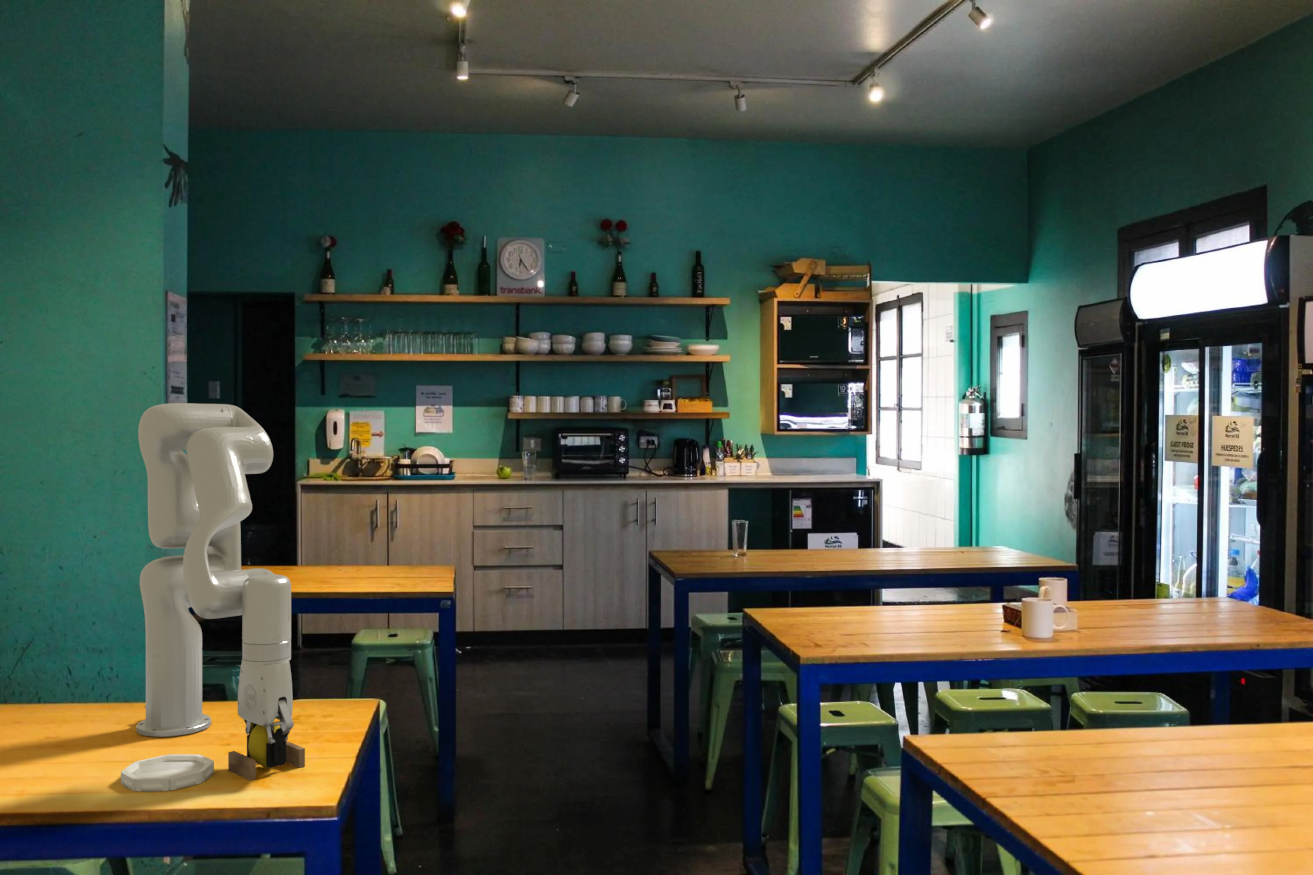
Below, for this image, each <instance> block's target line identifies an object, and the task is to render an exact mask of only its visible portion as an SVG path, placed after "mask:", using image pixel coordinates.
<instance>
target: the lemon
mask: <svg viewBox="0 0 1313 875" xmlns="http://www.w3.org/2000/svg"><path fill="white" fill-rule="evenodd" d="M274 722H275V721H274ZM274 722H273V723H274ZM273 728H274V733H275V732H276V730H277V729H278V728H280V725H279V726H275V727H273ZM266 743H269V739H268V733H267V727H263V726H260V725H257V726H255V728H254V729H253V730H252V732H251V734H250V737H249V743H248V749H249V754H250V757H251V758H252V759H254V760H256V765H260V766H261V767H262V768H263V769H269V768H268V767H266Z"/></svg>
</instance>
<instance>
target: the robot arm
mask: <svg viewBox="0 0 1313 875" xmlns="http://www.w3.org/2000/svg"><path fill="white" fill-rule="evenodd" d="M137 435H138V437H137V438H138V445H139V449H140V452H141V456H142V459H143V462H144V465H145V468H146V469H145V470H146V475H147V518H148V519H147V522H148V523H147V524H148V536H149V538H150V541H151V543H152V544H153V546H154V547H157V548H160V549H165V550H167V549H168V550H169V549H170V550H171V549H172V550H173V549H184V552H183V555H172V556H171V555H170V556H165V557H160V558H157V559H153V560H152V561H150V562H148V563H147V564H146V565H145V566H144V567H143V568H142V569H141V572H140V575H139V588H140V589H139V590H140V594H141V600H142V604H143V611H144V612H143V613H144V624H145V626H144V628H145V706H144V708H145V719H143V720H141V721H139V722H138V723H137V724H136V728H135V729H136V732H137V734H139V735H142V736H145V737H151V738H153V737H154V738H157V737H158V738H160V737H161V738H164V737H178V736H185V735H191V734H194V733H195V734H196V733H198V732H202V731H203V730H206V729H208V728H209V727H210V726H211V725H212V718H211V716H209V715H207V714H205V713H203V632H202V627H201V625H200V624H199V621H197V619H196V618H195V617H194V616H193V614H192V613H191V612H190V610H189V608H192V610H193V612H194V613H195V614H196V615H197V616H199V617H200V618H203V619H206V620H210V619H211V620H213V619H215V620H216V619H221V618H228V617H237V616H238V617H239V616H241V618H242V620H241V621H242V626H241V627H242V628H241V629H242V631H241V635H242V636H241V639H242V642H241V645H242V646H241V651H242V654H241V656H242V657H241V664H240V668H239V677H238V687H237V688H238V689H237V714H238V716H239V717H240V718H241V719H243V721H244V723H245V728H244V729H245V730H244V731H245V734H246V756H247V757H250V754H249V749H248V743H249V737H250V734H251V732H252V730H253V729H254V728H255V726H257V725H260V726H263V727H267V733H268V739H269V743H266V767H268V768H267V769H272V768H277V767H280V766H284V765H286V764H287V763H286V741H288V739H289V735H290V732H291V730H292V729H293V728H294V726H295V723H294V720H293V718H292V716H293V703H294V702H293V701H294V700H293V698H294V697H293V681H292V672H291V664H290V661H291V659H292V582H291V580H290V579H289V577H287V576H286V575H284V574H283V575H282V574H276V573H273V571H271V570H270V569H266V568H262V567H261V568H248V569H242V544H241V543H242V541H241V539H242V538H241V536H242V535H241V534H242V533H241V522H242V521H243V520H245V519H246V518H247V517H249V516H250V514H251V513H252V511H253V503H252V500H251V494H250V490H249V487H248V482H247V478H246V475H252V474H253V475H256V474H263V473H265V472H267V471H268V470H269V469H270V467H271V466H272V463H273V460H274V449H273V444H272V442H271V439H270V436H269V435H268V433H267V432H266V431H265V429H264V428H263V427H262V425H260V424H259V423H258V422H257V421H256V420H255V419H254V418H253V417H251V416H250V415H249V414H248V413H247V412H246V411H244V410H243V409H242V408H240V407H238V406H236V405H233V404H227V403H195V402H194V403H193V402H192V403H191V402H190V403H188V402H186V403H185V402H183V403H182V402H175V403H174V402H173V403H171V402H170V403H161V404H157V405H153V406H150V407H149V408H148V409H147V408H146V410H145V411H144V412H143V413H142V415H141V417H140V420H139V424H138V430H137ZM184 451H186V453H185V452H184ZM275 719H276V720H278V721H275ZM273 722H274V723H273ZM275 726H279V727H280V728H278V729H277V730H276V732H275V733H274V728H273V727H275ZM250 758H251V757H250Z"/></svg>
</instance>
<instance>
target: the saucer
mask: <svg viewBox="0 0 1313 875" xmlns="http://www.w3.org/2000/svg"><path fill="white" fill-rule="evenodd" d="M214 768H215V760H213V759H211V758H209V757H206V756H205V755H202V754H198V753H197V754H196V753H195V754H194V753H193V754H189V753H187V754H184V753H183V754H182V753H181V754H179V753H177V754H176V753H175V754H163V755H159V756H153V757H149V758H146V759H141V760H136V761H133V762H132V763H131V764H129V765H128V766H127V767H125V768H124V769H122V770H121V772H120V784H121V785H123V788H126V789H128V790H130V791H133V792H144V793H145V792H150V793H151V792H169V791H174V790H179V789H181V790H182V789H185V788H190V787H193V786H196V785H200V784H202V783H205V782H206V781H207V780H209V779H210V778H211V777H212V776H213V774H214V773H215V769H214Z"/></svg>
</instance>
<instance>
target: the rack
mask: <svg viewBox="0 0 1313 875" xmlns="http://www.w3.org/2000/svg"><path fill="white" fill-rule="evenodd" d="M227 754H228V756H227V757H228V758H227V759H228V772H230V773H232V774H235V775H237V776H239V777H241V778H243V779H246V780H247V781H253V780H256V778H257V777H256V775H257V774H256V770H257V769H256V768H257V767H256V765H257V763H256V760H254V759H252V758H250V757H247V755H244V754H242V753H240V752H237V751H236V750H232V751H228V753H227ZM286 764H289V765H292V766H293V767H297V768H304V766H305V767H306V748H305V747H302V746H300V745H298V744H294V743H292V742H290V741H288V740H287V741H286Z"/></svg>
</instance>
